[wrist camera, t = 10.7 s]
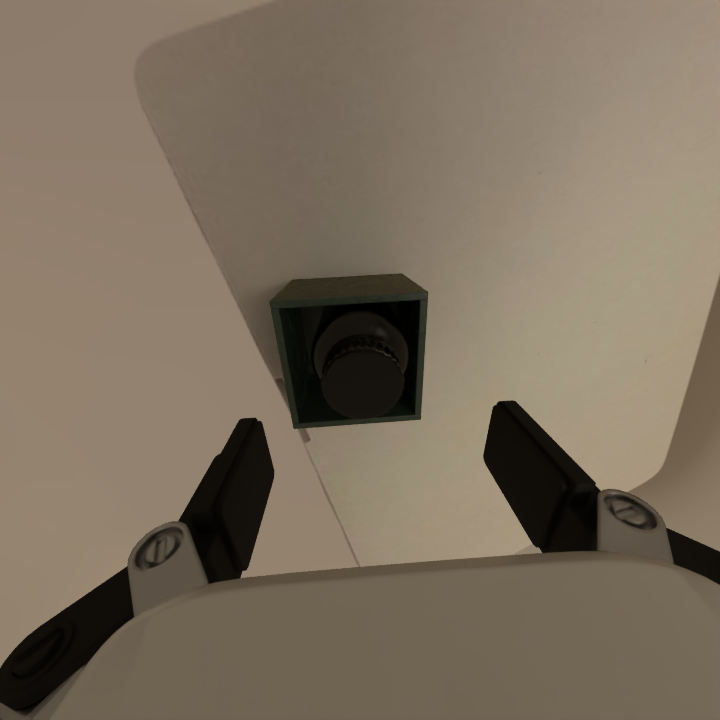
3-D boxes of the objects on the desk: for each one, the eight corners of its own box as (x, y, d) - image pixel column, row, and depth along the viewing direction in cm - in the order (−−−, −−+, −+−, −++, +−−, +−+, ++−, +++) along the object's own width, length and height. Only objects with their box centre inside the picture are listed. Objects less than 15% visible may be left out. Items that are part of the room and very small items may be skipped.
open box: (292, 279, 25) (269, 301, 17) (402, 273, 25) (428, 291, 17) (306, 376, 29) (293, 429, 21) (400, 370, 29) (421, 419, 22)
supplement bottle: (352, 269, 24) (360, 299, 13) (406, 318, 26) (450, 378, 15) (305, 326, 26) (278, 393, 15) (359, 367, 28) (369, 451, 17)
